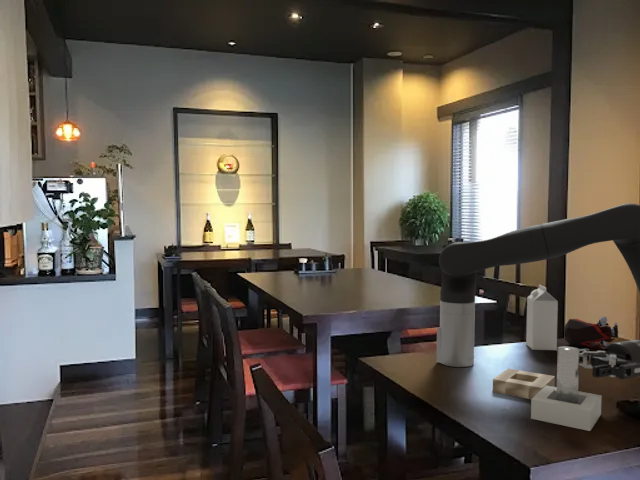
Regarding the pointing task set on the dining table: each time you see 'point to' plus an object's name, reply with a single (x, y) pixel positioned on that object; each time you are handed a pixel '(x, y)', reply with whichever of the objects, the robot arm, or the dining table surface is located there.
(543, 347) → the milk carton
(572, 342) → the toy
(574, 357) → the steel peg
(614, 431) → the dining table surface
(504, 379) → the maple socket
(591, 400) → the grey socket
